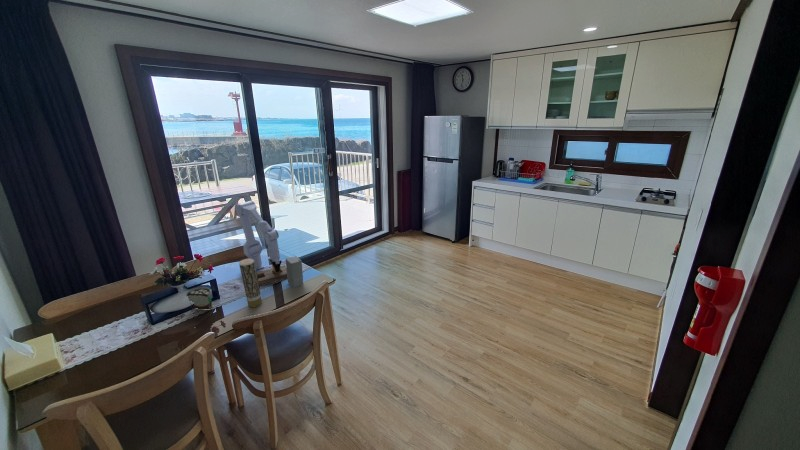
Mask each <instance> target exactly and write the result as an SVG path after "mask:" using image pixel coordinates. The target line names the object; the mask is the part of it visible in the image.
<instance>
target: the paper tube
mask: <svg viewBox="0 0 800 450" xmlns="http://www.w3.org/2000/svg"><path fill="white" fill-rule="evenodd" d="M238 265H239V269H240V274H241V278H242V284H243V288H244V292H245V293H244V294H245V297H246V301H247V305H248V307H250V308H257V307H259V306H260V305H261V304H262V303H263V302H262V301H263V300H262V296H261V289H260V286H259V283H258V278H257V273H256V272H257V269H256V268H255V263H254V259H248V258H245V259H242V260H240V261H239V264H238Z"/></svg>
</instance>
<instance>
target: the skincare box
mask: <svg viewBox="0 0 800 450" xmlns="http://www.w3.org/2000/svg"><path fill="white" fill-rule="evenodd" d="M285 266H286V268H287V278H286V279H287V283H288V285H290V286H291V287H292V288H296V287H298V286H302V285H304V277H303V276H304V275H303V261H302V260H301V259H300V257H298V256H296V255H293V256H290V257H287V258H285Z"/></svg>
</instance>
